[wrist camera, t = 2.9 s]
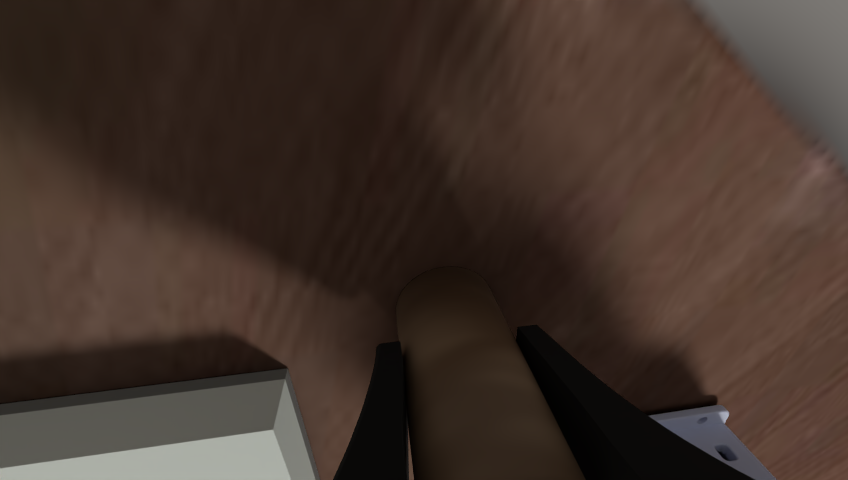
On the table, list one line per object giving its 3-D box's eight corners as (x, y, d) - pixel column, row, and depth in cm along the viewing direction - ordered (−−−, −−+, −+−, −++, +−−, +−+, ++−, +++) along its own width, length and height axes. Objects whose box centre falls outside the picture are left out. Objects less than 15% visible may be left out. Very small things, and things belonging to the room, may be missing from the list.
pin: (495, 261, 13) (612, 461, 7) (489, 339, 15) (578, 553, 8) (392, 271, 12) (417, 494, 6) (398, 350, 14) (424, 583, 8)
